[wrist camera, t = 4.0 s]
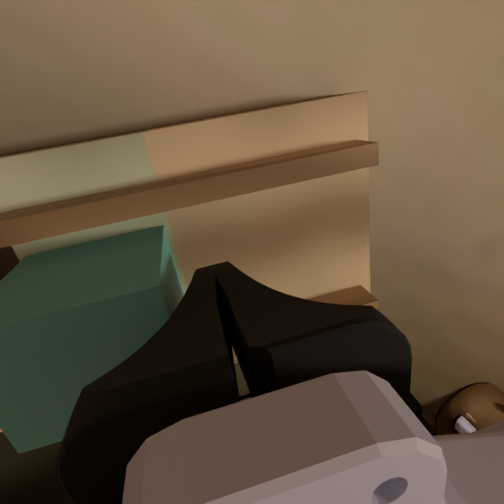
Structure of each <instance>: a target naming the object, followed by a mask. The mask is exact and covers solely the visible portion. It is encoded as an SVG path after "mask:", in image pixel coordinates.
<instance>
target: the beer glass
mask: <svg viewBox="0 0 504 504" xmlns="http://www.w3.org/2000/svg"><path fill="white" fill-rule="evenodd" d="M502 421H504V393H503V392H502V391H501V390H500V389H499V388H498V387H497V386H495V385H493V384H489V383H479V384H475V385H471V386H469V387H467V388H464V389H463V390H461V391H459V392H458V393H456V394H455V395H454V396H452V397H451V398H450V399H449V400H448V401H447V402H446V403H445V404H444V406H443V407H442V408H441V410H440V412H439V413H438V416H437V418H436V423H435V428H436V432H437V434H438V435H450V434H461V433H472V432H474V431H477V430H480V429H483V428H486V427H488V426H491V425H494V424H497V423H499V422H502Z"/></svg>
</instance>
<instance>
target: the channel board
mask: <svg viewBox="0 0 504 504" xmlns="http://www.w3.org/2000/svg"><path fill="white" fill-rule="evenodd" d="M375 165H378V142H371V141H368V91H362V92H354V93H346V94H338V95H333V96H327V97H322V98H316V99H311V100H305V101H300V102H295V103H289V104H284V105H278V106H273V107H267V108H262V109H256V110H251V111H246V112H240V113H235V114H229V115H224V116H218V117H213V118H207V119H202V120H197V121H191V122H186V123H180V124H175V125H169V126H164V127H158V128H153V129H148V130H142V131H137V132H131V133H126V134H120V135H115V136H109V137H104V138H99V139H93V140H88V141H82V142H77V143H71V144H66V145H60V146H55V147H50V148H44V149H39V150H33V151H28V152H22V153H17V154H11V155H6V156H1V157H0V281H1V280H2V279H3V278H4V277H5V276H6V275H7V274H8V273H9V272H10V271H11V270H12V269H13V268H14V267H15V266H16V265H18V264H19V263H20V262H21V261H22V260H23V259H24V258H25V257H26V256H27V255H32V254H36V253H41V252H45V251H50V250H54V249H59V248H63V247H68V246H72V245H77V244H81V243H86V242H90V241H95V240H99V239H103V238H108V237H112V236H117V235H121V234H126V233H130V232H135V231H139V230H144V229H148V228H153V227H157V226H162V225H164V228H165V231H166V234H167V238H168V241H169V245H170V248H171V252H172V255H173V258H174V262H175V265H176V269H177V272H178V276H179V279H180V282H181V286H182V289H183V293H184V294H185V292H186V290H187V288H188V286H189V284H190V282H191V280H192V277H193V274H194V272H195V270H196V269H198V268H202V267H206V266H210V265H214V264H218V263H222V262H226V261H228V262H230V263H231V264H233V265H234V266H235V267H236V268H238V269H239V270H240V271H242V272H243V273H245V274H246V275H248V276H249V277H251V278H252V279H254V280H256V281H257V282H259V283H261V284H263V285H265V286H267V287H270V288H272V289H274V290H277V291H280V292H282V293H285V294H288V295H291V296H295V297H299V298H303V299H307V300H312V301H317V302H324V303H332V304H341V305H368V306H373V307H374V308H375V309H377V310H378V300H377V299H376V298H375V297H374V296H373V295H372V294H370V235H369V167H371V166H375ZM232 349H233V347H232ZM233 357H234V363H238V360H237V357H236V355H235V352H234V349H233ZM0 432H3V431H2V430H1V428H0Z"/></svg>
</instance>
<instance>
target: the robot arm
mask: <svg viewBox="0 0 504 504" xmlns="http://www.w3.org/2000/svg"><path fill="white" fill-rule="evenodd" d="M232 347H233V349H234V352H235V355H236V357H237V360H238V362H239V365H240V368H241V370H242V373H243V375H244V378H245V380H246V383H247V386H248V389H249V392H250V395H251V397H250V398H246V399H243V400H240V396H239V391H238V385H237V378H236V371H235V364H234V357H233V349H232ZM411 366H412V354H411V346H410V344H409V342H408V340H407V338H406V336H405V335H404V334H403V333H402V332H401V331H400V330H399V329H398V328H397V327H396V326H395V325H394V324H393V323H392V322H391V321H389V320H388V319H387V318H386V317H385V316H384V315H383V314H382V313H380V312H379V311H378V310H377V309H375V308H374V307H373V306H368V305H341V304H332V303H324V302H317V301H312V300H307V299H303V298H299V297H295V296H291V295H288V294H285V293H282V292H280V291H277V290H274V289H272V288H270V287H267V286H265V285H263V284H261V283H259V282H257V281H256V280H254V279H252V278H251V277H249V276H248V275H246V274H245V273H243V272H242V271H240V270H239V269H238V268H236V267H235V266H234V265H233V264H231V263H230V262H228V261H226V262H222V263H218V264H214V265H210V266H206V267H202V268H198V269H196V270H195V272H194V274H193V277H192V280H191V282H190V284H189V286H188V288H187V290H186V292H185V294H184V296H183V298H182V300H181V301H180V303H179V305H178V306H177V308H176V309H175V311H174V312H173V314H172V315H171V317H170V318H169V319H168V320H167V321H166V323H165V324H164V325H163V326H162V327H161V328H160V329H159V330H158V331H157V332H156V333H155V334H154V335H153V336H152V337H151V338H150V339H149V340H148V341H147V342H146V343H145V344H144V345H143V346H142V347H141V348H139V349H138V350H137V351H136V352H135V353H133V354H132V355H131V356H130V357H128V358H127V359H126V360H124V361H123V362H122V363H120V364H119V365H118V366H116V367H115V368H113V369H112V370H110V371H109V372H107V373H106V374H104V375H102V376H101V377H99V378H98V379H96V380H95V381H93V382H92V383H90V384H88V385H87V386H85V387H83V388H82V391H81V393H80V395H79V397H78V400H77V402H76V404H75V406H74V409H73V411H72V414H71V417H70V420H69V423H68V426H67V429H66V432H65V435H64V438H63V441H62V444H61V447H60V450H59V453H58V456H57V465H56V473H57V476H58V478H59V481H60V483H61V485H62V487H63V489H64V490H65V492H66V493H67V495H68V496H69V498H70V499H71V501H72V502H73V504H504V421H502V422H499V423H497V424H494V425H491V426H488V427H486V428H483V429H480V430H477V431H474V432H472V433H461V434H450V435H437V434H436V433H435V431H434V430H433V429H432V428H431V427H430V425H429V424H428V423H427V422H426V421H425V419H424V418H423V417H422V416H421V415H420V414H421V413H422V407H421V405H420V403H419V402H418V401H417V400H416V399H415V397H414V396H413V395H412V394H411V393H410V383H411Z"/></svg>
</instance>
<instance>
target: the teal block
mask: <svg viewBox="0 0 504 504" xmlns="http://www.w3.org/2000/svg"><path fill="white" fill-rule="evenodd" d="M183 296H184V293H183V289H182V286H181V282H180V279H179V276H178V272H177V269H176V265H175V262H174V258H173V255H172V252H171V248H170V245H169V241H168V238H167V234H166V231H165V228H164V225H162V226H157V227H153V228H148V229H144V230H139V231H135V232H130V233H126V234H121V235H117V236H112V237H108V238H103V239H99V240H95V241H90V242H86V243H81V244H77V245H72V246H68V247H63V248H59V249H54V250H50V251H45V252H41V253H36V254H32V255H27V256H26V257H25V258H24V259H23V260H22V261H21V262H20V263H19V264H18V265H16V266H15V267H14V268H13V269H12V270H11V271H10V272H9V273H8V274H7V275H6V276H5V277H4V278H3V279H2V280H1V281H0V428H1V430H2V431H3V433H4V434H5V435H6V437H7V438H8V440H9V441H10V442H11V444H12V445H13V447H14V448H15V449H16V451H17V452H18V454H19V453H23V452H26V451H29V450H33V449H36V448H39V447H43V446H46V445H49V444H52V443H56V442H59V441H62V440H63V438H64V435H65V432H66V429H67V426H68V423H69V420H70V417H71V414H72V411H73V409H74V406H75V404H76V402H77V400H78V397H79V395H80V393H81V391H82V388H83V387H85V386H87V385H88V384H90V383H92V382H93V381H95V380H96V379H98V378H99V377H101V376H102V375H104V374H106V373H107V372H109V371H110V370H112V369H113V368H115V367H116V366H118V365H119V364H120V363H122V362H123V361H124V360H126V359H127V358H128V357H130V356H131V355H132V354H133V353H135V352H136V351H137V350H138V349H139V348H141V347H142V346H143V345H144V344H145V343H146V342H147V341H148V340H149V339H150V338H151V337H152V336H153V335H154V334H155V333H156V332H157V331H158V330H159V329H160V328H161V327H162V326H163V325H164V324H165V323H166V321H167V320H168V319H169V318H170V317H171V315H172V314H173V312H174V311H175V309H176V308H177V306H178V305H179V303H180V301H181V300H182V298H183Z"/></svg>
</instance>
